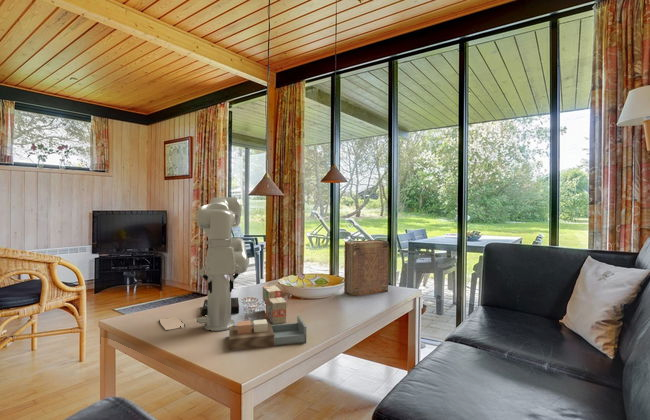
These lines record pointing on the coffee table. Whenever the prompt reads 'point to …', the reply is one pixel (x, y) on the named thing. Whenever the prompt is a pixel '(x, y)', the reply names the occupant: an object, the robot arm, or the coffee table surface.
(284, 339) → the box
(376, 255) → the book
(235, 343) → the walnut board
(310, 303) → the coffee table surface
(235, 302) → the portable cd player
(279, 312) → the stack of blocks
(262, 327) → the cream tile
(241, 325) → the terracotta tile
